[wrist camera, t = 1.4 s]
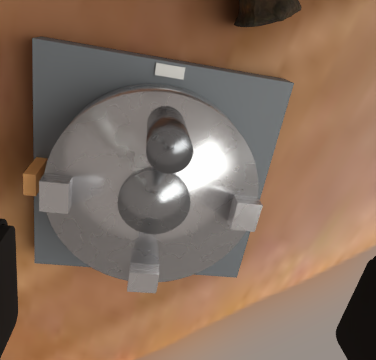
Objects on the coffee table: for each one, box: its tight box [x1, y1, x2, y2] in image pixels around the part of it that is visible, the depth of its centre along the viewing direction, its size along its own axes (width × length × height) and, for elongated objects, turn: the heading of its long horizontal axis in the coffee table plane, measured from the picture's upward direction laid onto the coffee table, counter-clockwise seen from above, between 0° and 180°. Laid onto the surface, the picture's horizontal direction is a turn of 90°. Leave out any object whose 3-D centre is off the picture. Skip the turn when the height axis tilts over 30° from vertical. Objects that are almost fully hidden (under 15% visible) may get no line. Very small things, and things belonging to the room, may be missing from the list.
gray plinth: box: [23, 37, 294, 277], centre depth 27 cm, size 18×18×5 cm
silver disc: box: [39, 84, 263, 293], centre depth 23 cm, size 15×15×8 cm
